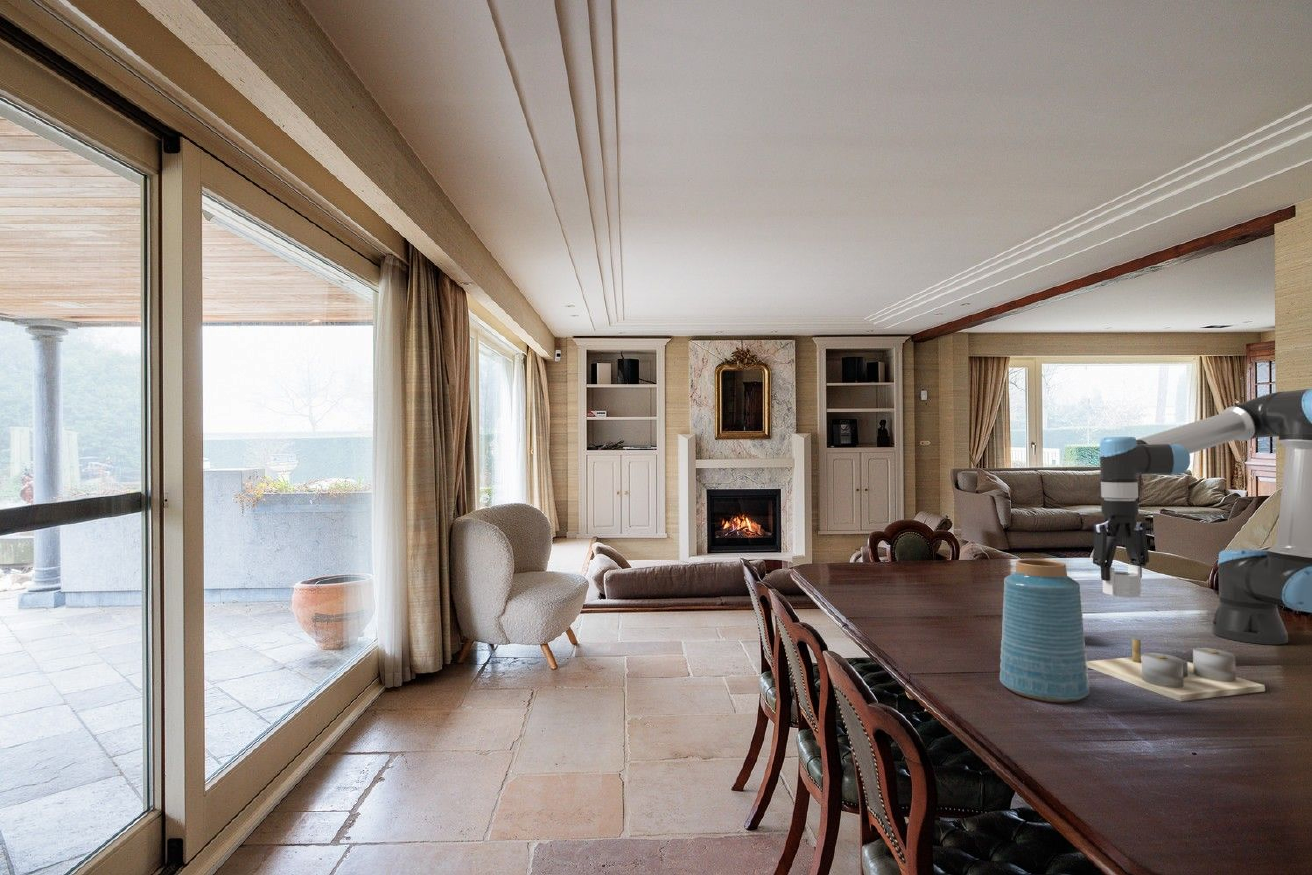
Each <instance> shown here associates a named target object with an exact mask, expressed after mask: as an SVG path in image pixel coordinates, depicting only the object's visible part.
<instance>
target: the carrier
mask: <svg viewBox="0 0 1312 875" xmlns="http://www.w3.org/2000/svg"><path fill="white" fill-rule="evenodd" d="M1141 642H1142V641H1141V639H1139V638H1132V639H1131V648H1132V649H1131V654H1132V656H1130V657H1129V656H1128V657H1127V656H1126V657H1120V658H1119V657H1117V658H1109V659H1101V660H1100V659H1099V660H1098V659H1096V660H1089V661H1088V660H1087V666H1088V669H1090V670H1094V671H1097V672H1099V673H1102V674H1105V675H1107V676H1109V677H1110V676H1111V677H1113V678H1115V679H1118V680H1120V681H1124V682H1126V683H1129V684H1132V685H1135V686H1137V687H1140V688H1142V689H1145V690H1148V691H1151V692H1154V693H1156V694H1159V695H1162V696H1164V697H1167V698H1169V699H1172V700H1176V701H1178V702H1185V701H1193V700H1202V699H1211V698H1220V697H1227V696H1236V695H1244V694H1253V693H1261V692H1266V686H1265V684H1262V683H1259V682H1255V681H1252V680H1248V679H1245V678H1242V677H1239V676H1236V655H1235V654H1234V653H1232V652H1229V651H1226V650H1223V649H1219V648H1218V649H1216V648H1210V647H1196V648H1193V649H1192V662H1190V661H1187V660H1185V659H1182V658H1180V657H1178V656H1174V655H1170V654H1165V653H1161V652H1159V653H1158V652H1144V653H1141V652H1142V651H1141V648H1142V647H1141V644H1142V643H1141Z"/></svg>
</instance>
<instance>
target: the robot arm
mask: <svg viewBox="0 0 1312 875" xmlns="http://www.w3.org/2000/svg"><path fill="white" fill-rule="evenodd" d="M1271 437H1272V438H1274V437H1276V438H1277V437H1278V443H1279V444H1280V445H1282V447H1284V448H1285V455H1284V466H1283V474H1282V475H1283V476H1282V483H1281V484H1282V486H1281V493H1280V494H1281V495H1280V504H1279V505H1280V506H1279V515H1278V524H1277V534H1276V542H1275V544H1274V545H1273V546H1270V547H1269V548H1268V549H1223V550H1221V551H1220V552H1219V554H1218V560H1217V569H1218V571H1217V573H1218V593H1219V594H1218V596H1219V598H1218V599H1219V602H1218V603H1219V605H1218V608H1217V610H1216V612H1215V615H1214V618H1213V620H1212V622H1211V633H1212V634H1214V635H1215V636H1218V637H1222V638H1223V639H1224V638H1225V639H1228V640H1233V641H1238V642H1244V643H1250V644H1259V645H1285V644H1287V643H1288V642H1289V635H1288V631H1287V628H1286V627H1285V624H1284V622H1283V618H1282V617H1281V615H1280V613H1279V606H1281V607H1285V608H1287V609H1288V608H1289V609H1291V610H1293V611H1299V612H1306V613H1311V614H1312V388H1307V389H1298V390H1289V391H1277V392H1272V393H1267V394H1264V395H1261V396H1258V397H1255V398H1252V399H1249V400H1247V401H1244V402H1241V403H1238V404H1235V405H1232V406H1229V407H1226V408H1225V409H1224V410H1223V411H1222V413H1220V414H1216V415H1212V416H1209V417H1206V418H1203V419H1199V420H1196V421H1192V422H1190V423H1187V424H1183V425H1179V426H1176V427H1173V428H1171V429H1167V430H1164V431H1161V432H1156V433H1154V434H1151V435H1147V436H1145V437H1142V438H1141V437H1140V438H1138V439H1136V437H1135V436H1108V437H1107V436H1105V437H1102V439H1100V441H1099V456H1098V461H1099V467H1100V469H1099V470H1100V472H1099V473H1100V496H1101V498H1103V499H1102V500H1101V502H1100V503H1101V504H1100V505H1101V506H1100V507H1101V508H1100V510H1101V512H1100V513H1101V514H1102V515H1103V516H1104V519H1103V521H1102V523H1094V524H1093V526H1092V527H1093V532H1094V539H1093V552H1092V553H1093V555H1092V563H1093V564H1094V565H1096V566H1098V567H1100V578H1101V581H1102V594H1105V593H1106V594H1105V595H1108V594H1110V596H1113V595H1115V571H1116V570H1115V567H1112V566H1113V562H1114V558H1115V555H1116V551H1117V547H1118V543H1119V542H1121V540H1122V541H1123V543H1124V547H1125V550H1126V553H1127V556H1128V560H1129V561H1130V564H1127V572H1131V573H1136V574H1139V577H1140V594H1141V593H1142V582H1141V581H1142V580H1141V579H1142V578H1143V572H1142V570H1143V569H1142V567H1146V566H1147V564H1148V563H1149V562H1150V557H1149V556H1150V555H1149V548H1148V542H1147V540H1148V539H1147V533H1146V532H1147V525H1148V524H1147V523H1146V522H1142V521H1137V519H1136V517H1137V516H1138V515H1139V502H1138V500H1136V499H1138V498H1139V486H1138V485H1139V483H1138V477H1139V476H1143V475H1145V476H1146V475H1148V476H1149V475H1150V476H1151V475H1152V476H1153V475H1155V476H1157V475H1161V476H1162V475H1163V476H1164V475H1168V476H1172V475H1180V474H1184V473H1185V472H1186V471H1188V469H1189V467H1190V465H1191V455H1190V454H1194V453H1196V452H1200V451H1203V450H1207V449H1209V448H1212V447H1216V446H1219V445H1223V444H1225V443H1230V442H1233V441H1238V442H1246V441H1249V440H1253V439H1254V440H1255V439H1260V438H1271Z"/></svg>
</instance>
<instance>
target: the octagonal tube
mask: <svg viewBox="0 0 1312 875" xmlns="http://www.w3.org/2000/svg"><path fill="white" fill-rule="evenodd" d="M1114 571H1115V595H1112V596H1113V597H1121V598H1137V597H1138V598H1140V597H1141V593H1140V577H1139V574H1136V573H1131V572H1128V571H1123V570H1122V571H1120V570H1114ZM1104 595H1110V594H1106V593H1104ZM1110 596H1111V595H1110Z"/></svg>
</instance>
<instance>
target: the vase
mask: <svg viewBox="0 0 1312 875" xmlns="http://www.w3.org/2000/svg"><path fill="white" fill-rule="evenodd" d="M1003 584H1004V585H1003V598H1002V599H1003V603H1002V623H1001V626H1002V627H1001V630H1002V631H1001V640H1000V645H1001V646H1000V656H999V657H1000V663H999V668H1000V671H999V681H1000V683H1001V684H1002V685H1003V686H1004V687H1006V688H1007V689H1008V690H1010V692H1013V693H1014V694H1017V695H1019V696H1021V697H1025V698H1028V699H1032V700H1036V701H1042V702H1049V703H1074V702H1078V701H1081V700H1082V699H1084V698H1086V697H1088V695H1090V684H1089V674H1088V671H1089V670H1088V669H1089V668H1088V666H1087V661H1088V658H1087V649H1086V641H1085V631H1084V630H1085V629H1084V617H1083V609H1082V608H1083V605H1082V600H1081V599H1082V596H1081V594H1082V593H1081V584H1080V583H1079V582H1078V581H1076V580H1075V579H1073V578H1072V577H1070V576H1068V572H1067V564H1066V563H1065V562H1061V561H1056V560H1050V559H1039V558H1023V559H1017V560H1016V563H1015V572H1013V573H1011V574H1010V575H1006V577H1004V579H1003Z"/></svg>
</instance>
